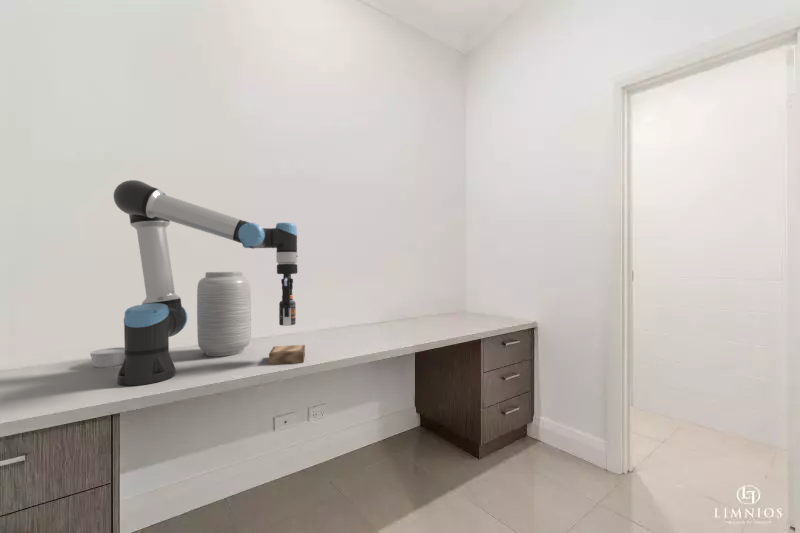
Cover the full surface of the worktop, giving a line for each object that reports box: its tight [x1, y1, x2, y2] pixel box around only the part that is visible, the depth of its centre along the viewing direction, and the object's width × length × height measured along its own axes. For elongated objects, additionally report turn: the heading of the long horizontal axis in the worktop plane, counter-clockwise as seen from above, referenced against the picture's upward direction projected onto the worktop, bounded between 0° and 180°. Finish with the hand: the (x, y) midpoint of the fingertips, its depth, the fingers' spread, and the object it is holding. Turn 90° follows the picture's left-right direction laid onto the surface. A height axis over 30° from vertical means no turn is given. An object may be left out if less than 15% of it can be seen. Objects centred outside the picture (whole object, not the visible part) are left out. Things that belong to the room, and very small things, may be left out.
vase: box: [196, 271, 252, 357], centre depth 153 cm, size 20×20×34 cm
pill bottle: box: [278, 294, 297, 327], centre depth 140 cm, size 6×6×11 cm
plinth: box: [268, 344, 306, 365], centre depth 140 cm, size 12×12×4 cm
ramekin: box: [89, 347, 125, 369], centre depth 135 cm, size 11×11×5 cm
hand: (287, 324), depth 140 cm, fingers closed on pill bottle, 6 cm apart
